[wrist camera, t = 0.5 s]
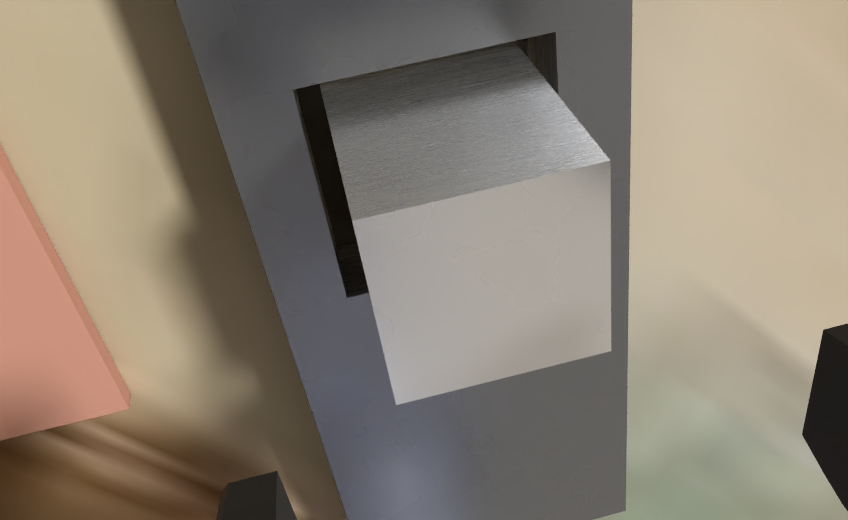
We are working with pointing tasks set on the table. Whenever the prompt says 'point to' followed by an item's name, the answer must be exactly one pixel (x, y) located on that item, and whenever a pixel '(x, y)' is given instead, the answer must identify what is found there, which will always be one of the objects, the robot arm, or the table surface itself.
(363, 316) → the block
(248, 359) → the table surface
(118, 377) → the mat
